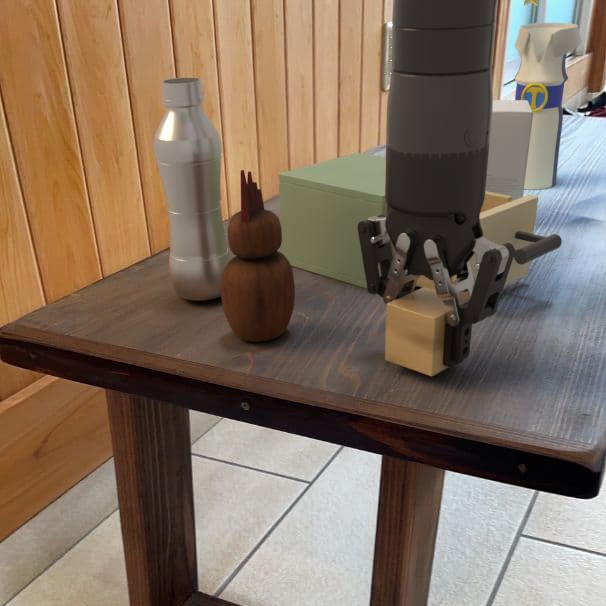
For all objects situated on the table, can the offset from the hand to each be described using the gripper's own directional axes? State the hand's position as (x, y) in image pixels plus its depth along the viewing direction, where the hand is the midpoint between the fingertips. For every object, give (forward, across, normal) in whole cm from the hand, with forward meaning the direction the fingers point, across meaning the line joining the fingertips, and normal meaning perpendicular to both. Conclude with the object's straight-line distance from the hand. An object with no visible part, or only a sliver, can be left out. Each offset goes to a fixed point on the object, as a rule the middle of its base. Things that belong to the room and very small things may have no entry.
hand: (426, 353), depth 72 cm
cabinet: (+1, +22, -18) cm, 28 cm away
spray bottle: (+2, +27, -59) cm, 65 cm away
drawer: (+1, +9, -18) cm, 20 cm away
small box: (+2, +21, -41) cm, 46 cm away
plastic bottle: (+1, +28, +1) cm, 28 cm away
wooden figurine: (+1, +16, +4) cm, 17 cm away
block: (0, 0, 0) cm, 0 cm away
